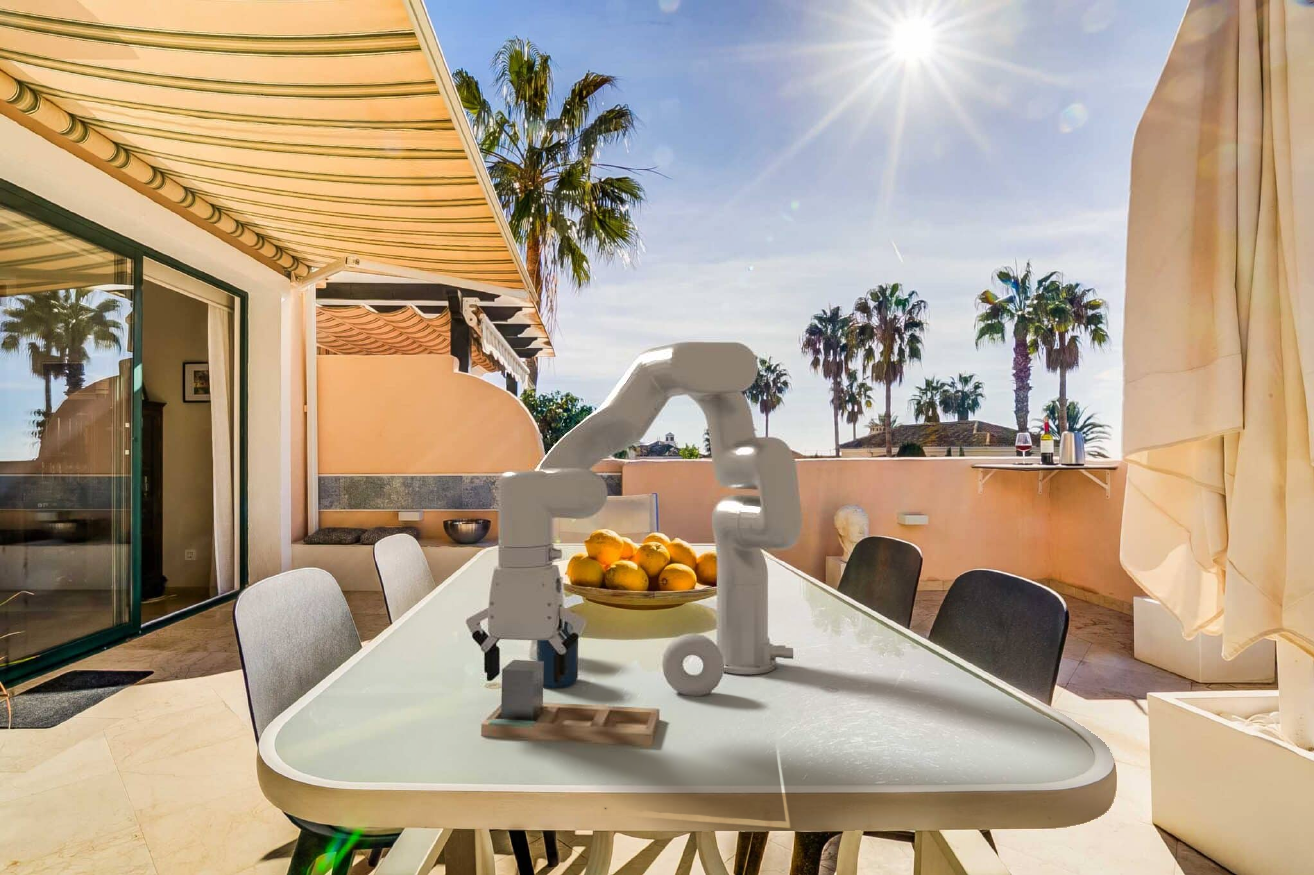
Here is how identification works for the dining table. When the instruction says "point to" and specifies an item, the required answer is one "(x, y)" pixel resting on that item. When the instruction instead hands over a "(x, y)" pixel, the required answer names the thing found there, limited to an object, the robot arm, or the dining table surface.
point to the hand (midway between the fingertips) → (526, 678)
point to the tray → (580, 724)
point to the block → (522, 690)
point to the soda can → (547, 655)
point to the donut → (684, 680)
